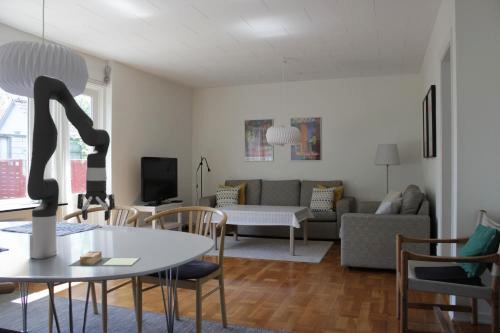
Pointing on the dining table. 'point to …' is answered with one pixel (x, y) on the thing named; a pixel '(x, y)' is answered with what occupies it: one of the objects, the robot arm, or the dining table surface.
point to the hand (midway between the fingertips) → (96, 220)
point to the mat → (111, 262)
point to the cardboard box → (91, 257)
